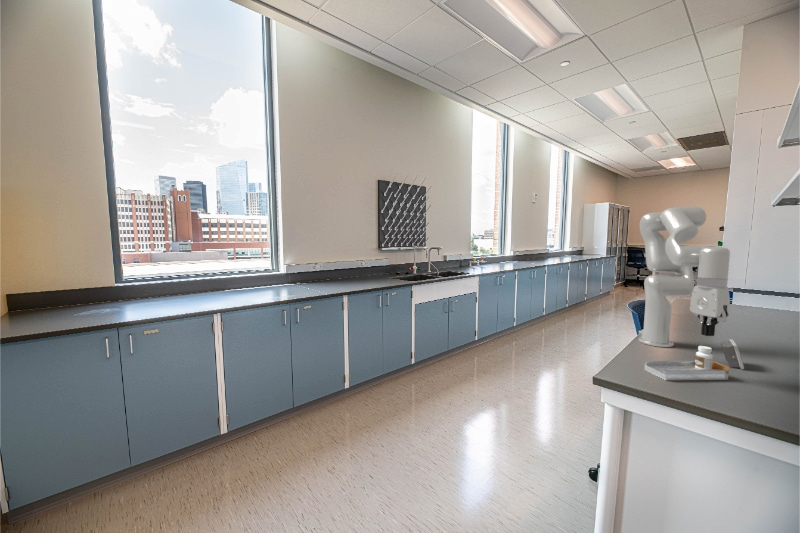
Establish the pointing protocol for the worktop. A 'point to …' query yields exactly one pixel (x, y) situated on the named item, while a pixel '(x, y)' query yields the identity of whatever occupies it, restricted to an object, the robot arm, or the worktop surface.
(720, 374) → the rail
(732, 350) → the electrical switch
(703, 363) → the pill bottle
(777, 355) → the worktop surface
